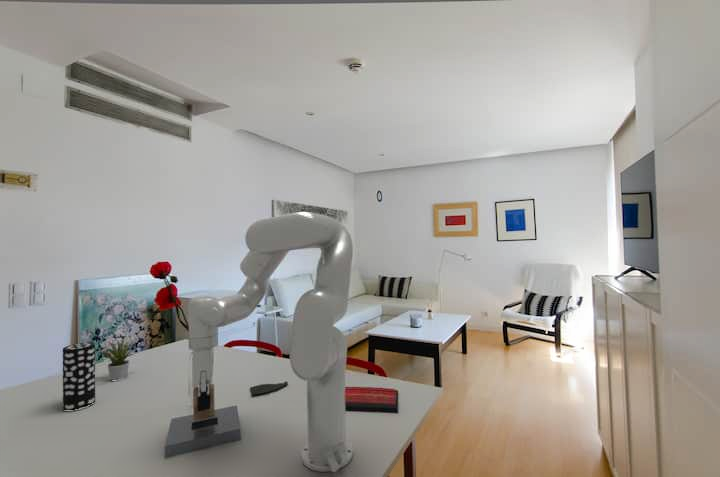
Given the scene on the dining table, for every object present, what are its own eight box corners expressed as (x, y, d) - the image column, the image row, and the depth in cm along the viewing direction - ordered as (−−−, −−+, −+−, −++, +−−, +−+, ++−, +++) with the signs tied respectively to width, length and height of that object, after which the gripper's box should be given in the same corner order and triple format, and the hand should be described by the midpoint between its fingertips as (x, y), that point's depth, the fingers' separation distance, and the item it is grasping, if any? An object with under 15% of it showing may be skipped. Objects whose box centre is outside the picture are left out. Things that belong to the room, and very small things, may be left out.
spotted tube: (97, 405, 111) (97, 345, 111) (64, 414, 105) (64, 351, 105) (93, 397, 117) (92, 341, 117) (61, 406, 111) (61, 346, 111)
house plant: (134, 368, 145) (134, 331, 145) (148, 375, 136) (147, 335, 137) (94, 379, 133) (94, 339, 133) (106, 387, 125) (106, 344, 125)
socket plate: (240, 439, 89) (240, 428, 89) (164, 458, 82) (164, 446, 82) (237, 415, 102) (236, 405, 102) (171, 429, 95) (171, 418, 95)
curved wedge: (290, 391, 119) (290, 387, 119) (251, 399, 114) (251, 394, 114) (286, 383, 127) (286, 378, 127) (249, 389, 122) (249, 385, 122)
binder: (397, 407, 101) (330, 404, 104) (397, 415, 101) (330, 412, 104) (398, 387, 117) (340, 385, 120) (398, 393, 117) (340, 392, 120)
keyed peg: (193, 421, 90) (193, 392, 90) (194, 416, 93) (193, 387, 93) (214, 416, 92) (213, 388, 92) (214, 411, 95) (213, 383, 95)
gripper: (190, 335, 99) (190, 397, 98) (186, 351, 84) (187, 424, 83) (217, 332, 102) (218, 392, 101) (218, 347, 87) (219, 417, 86)
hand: (204, 406), depth 92 cm, fingers closed on keyed peg, 2 cm apart
